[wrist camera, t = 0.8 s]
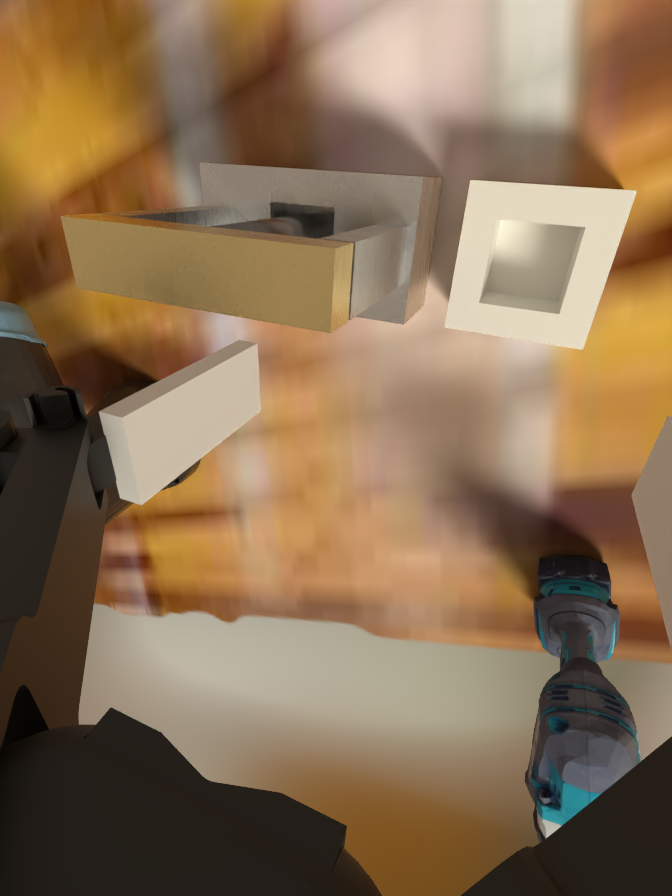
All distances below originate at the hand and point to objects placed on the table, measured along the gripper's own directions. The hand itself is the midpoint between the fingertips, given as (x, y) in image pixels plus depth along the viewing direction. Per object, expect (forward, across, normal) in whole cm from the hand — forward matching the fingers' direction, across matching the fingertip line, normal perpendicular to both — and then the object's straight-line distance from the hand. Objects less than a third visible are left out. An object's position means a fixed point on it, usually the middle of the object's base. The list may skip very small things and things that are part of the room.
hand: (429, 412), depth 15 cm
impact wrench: (+29, +14, -32) cm, 45 cm away
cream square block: (+29, +2, +2) cm, 29 cm away
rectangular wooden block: (+10, -15, +2) cm, 18 cm away
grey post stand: (+29, -15, +2) cm, 32 cm away
